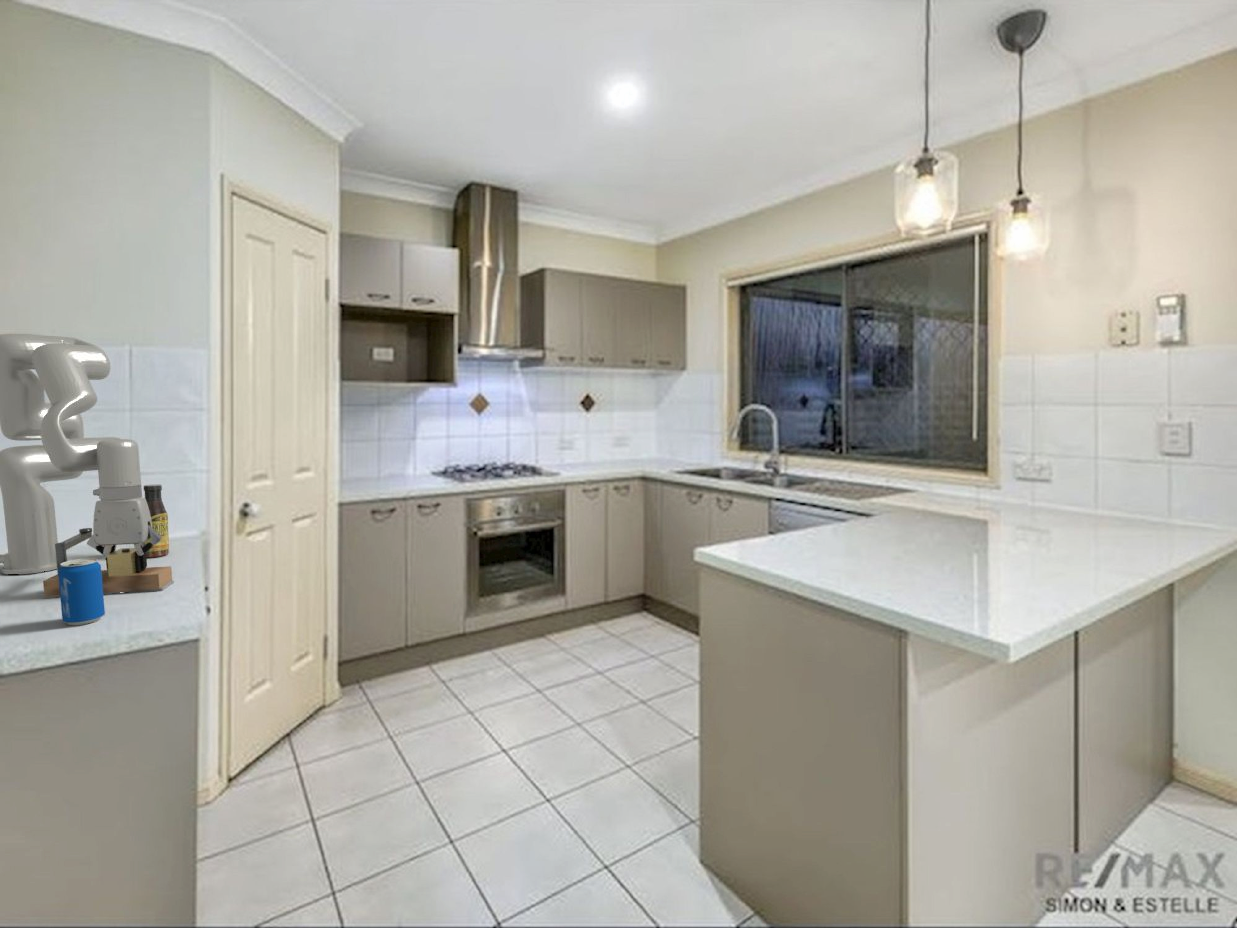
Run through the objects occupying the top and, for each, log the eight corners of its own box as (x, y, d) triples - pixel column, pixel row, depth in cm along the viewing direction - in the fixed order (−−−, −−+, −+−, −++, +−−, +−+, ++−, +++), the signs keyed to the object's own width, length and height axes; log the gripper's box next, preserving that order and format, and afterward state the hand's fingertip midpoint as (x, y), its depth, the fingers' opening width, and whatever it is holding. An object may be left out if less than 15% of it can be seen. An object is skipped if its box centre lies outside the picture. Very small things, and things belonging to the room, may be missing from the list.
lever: (67, 575, 144) (64, 541, 143) (54, 576, 143) (51, 542, 142) (96, 558, 159) (93, 527, 158) (84, 559, 158) (81, 528, 157)
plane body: (42, 598, 141) (40, 581, 140) (61, 589, 147) (59, 572, 147) (161, 591, 146) (160, 574, 146) (174, 582, 153) (173, 566, 153)
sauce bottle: (155, 559, 175) (149, 487, 173) (136, 557, 176) (130, 486, 174) (176, 553, 181) (171, 483, 179) (157, 552, 182) (152, 483, 180)
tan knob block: (108, 576, 144) (106, 553, 143) (122, 569, 150) (120, 546, 149) (132, 575, 145) (130, 551, 144) (145, 567, 151) (143, 545, 150)
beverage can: (53, 625, 124) (48, 565, 123) (86, 614, 131) (81, 557, 129) (82, 627, 123) (77, 566, 122) (113, 616, 130) (108, 558, 128)
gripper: (67, 497, 140) (74, 579, 142) (156, 494, 144) (162, 574, 146) (86, 492, 147) (93, 570, 149) (170, 490, 151) (176, 565, 153)
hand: (127, 571), depth 147 cm, fingers closed on tan knob block, 4 cm apart
